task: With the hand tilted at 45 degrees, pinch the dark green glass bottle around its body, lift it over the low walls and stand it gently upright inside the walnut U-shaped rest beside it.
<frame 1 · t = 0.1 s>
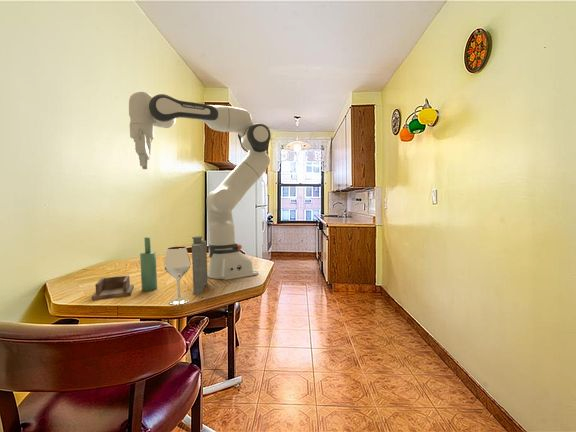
hand: (143, 167, 127), 48 cm above the table, tool pointing down, fingers open, 8 cm apart
bottle: (149, 289, 120), on the table
hip flask: (199, 289, 119), on the table
wineglass: (179, 302, 103), on the table
u rest: (114, 293, 115), on the table
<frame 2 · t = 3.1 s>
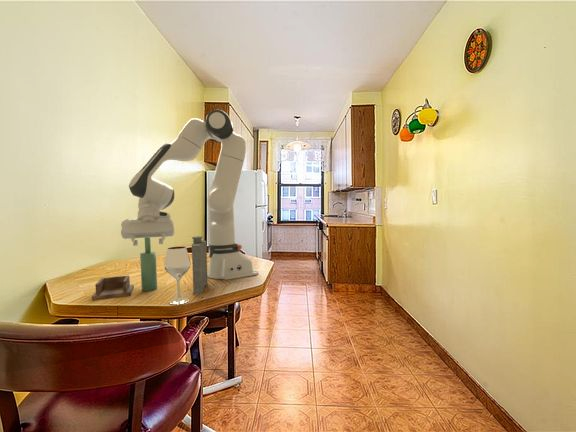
hand: (148, 244, 125), 17 cm above the table, tool tilted 45°, fingers open, 8 cm apart
nothing on the table moved.
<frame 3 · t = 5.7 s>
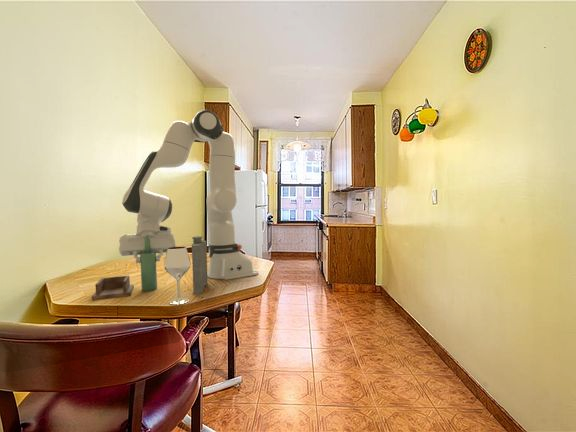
hand: (148, 261, 118), 11 cm above the table, tool tilted 45°, fingers closed on bottle, 5 cm apart
bottle: (149, 289, 120), on the table, touching gripper
everything else where it was.
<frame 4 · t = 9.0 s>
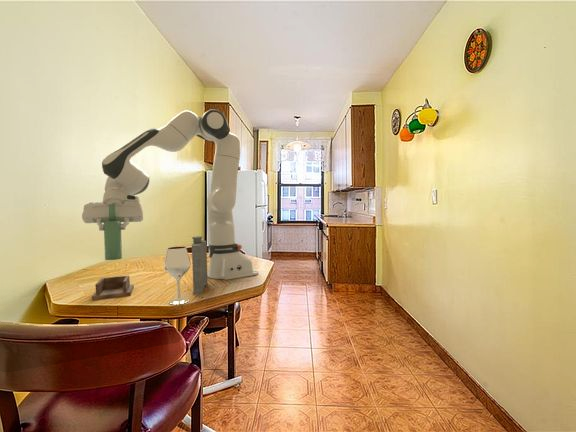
hand: (112, 229, 114), 24 cm above the table, tool tilted 45°, fingers closed on bottle, 5 cm apart
bottle: (113, 258, 115), point 13 cm above the table, touching gripper
everything else where it was.
when the fingers open (14 cm above the table, at t = 12.4 s): bottle drops 1 cm, resting on u rest.
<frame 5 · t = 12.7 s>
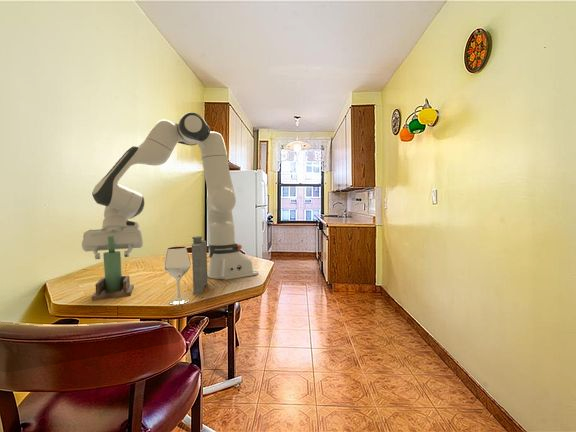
hand: (112, 257, 114), 14 cm above the table, tool tilted 45°, fingers open, 8 cm apart
bottle: (114, 289, 115), point 1 cm above the table, touching u rest
everything else where it was.
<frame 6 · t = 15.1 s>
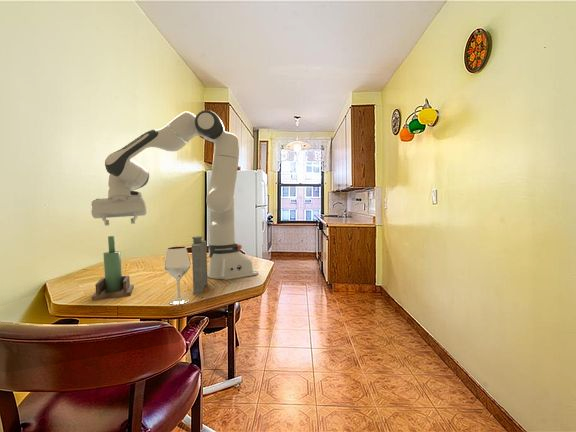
hand: (120, 223, 127), 25 cm above the table, tool tilted 40°, fingers open, 8 cm apart
nothing on the table moved.
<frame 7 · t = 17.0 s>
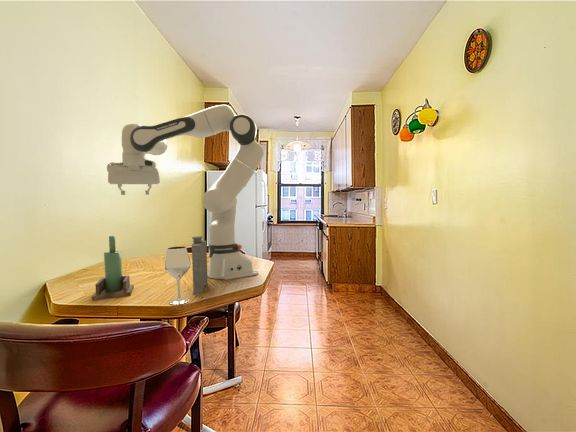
hand: (135, 194, 135), 37 cm above the table, tool pointing down, fingers open, 8 cm apart
nothing on the table moved.
at the end: bottle 0.2 cm off-centre on the u rest, point 1.2 cm above the u rest's base; bottle tilted 1°; the gripper is holding nothing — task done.
